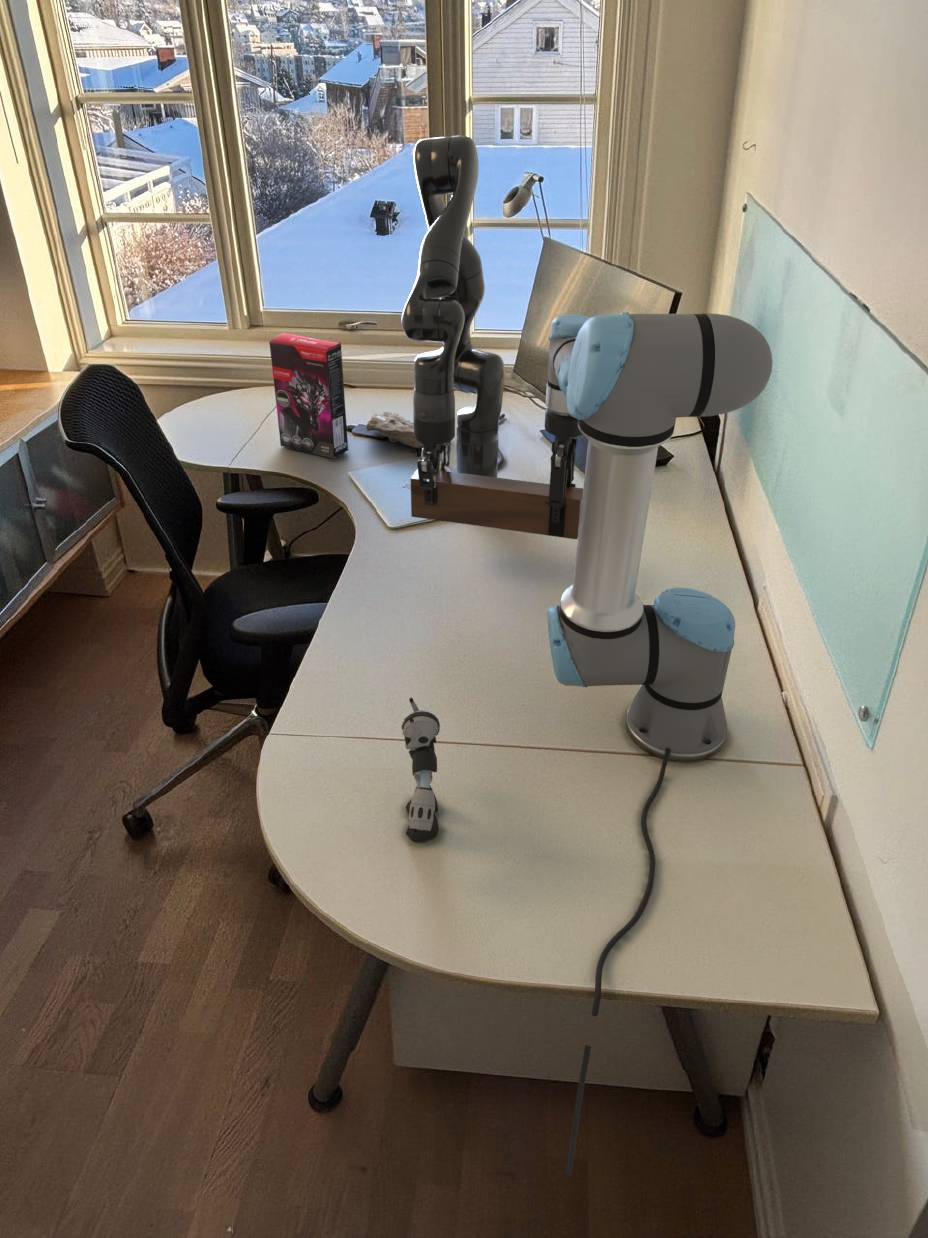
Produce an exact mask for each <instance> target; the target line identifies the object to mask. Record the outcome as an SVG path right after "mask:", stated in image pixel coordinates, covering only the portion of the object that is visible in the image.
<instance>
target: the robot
mask: <svg viewBox="0 0 928 1238" xmlns="http://www.w3.org/2000/svg"><path fill="white" fill-rule="evenodd" d="M408 700H409V703H410V705H411V708H412V711H413V712H411V713H409V714H408V715H407V716H406V717H405V718H403V721H402V723H401V727H400V728H401V731H402V732H401V733H402V735H403V737H404V743H405V744H404V745H405V746H404V747H405V749H406V750H408V754H409V756H410V758H411V761H412V762H411V763H412V764H411V771H412V776H413V778H414V779H415V782H416V787H415V789H414V791H413V792H414V793H413V795H412V797H411V799H410V800H409V801H408V802H407V803H406V805H405V809H406V811H407V814H408V827H407V829H406V831H405V835H406V836H407V837H408V839H410V840H411V841H412V842H416V843H425V842H428V841H430V840H432V839H435V838H437V835H438V832H439V830H440V828H439V820H438V817H437V815H436V813H438V811H439V808H438V799H437V797H436V794H435V792H434V789H433V788H432V785H431V783H432V782H433V773H437V772H438V757H437V754H436V752H435V744H437V737H436V736H438V735H439V733H440V730H441V729H440V728H441V724H440V721H439V718H438V717H437V716H436V715H435V714H433V713H432V712H430V711H428V710H424V709H423V710H420V709H419V707H418V705H417V704H416V702H415V700H414V698H413V697H409V699H408Z"/></svg>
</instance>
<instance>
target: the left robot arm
mask: <svg viewBox="0 0 928 1238" xmlns="http://www.w3.org/2000/svg"><path fill="white" fill-rule="evenodd" d="M413 165H414V173H415V179H416V184H417V189H418V192H419V196H420V200H421V204H422V209H423V213H424V215H425V221H426V226H427V230H428V231H426V233H425V235H424V238H423V240H422V242H421V245H420V251H419V259H418V267H417V269H418V270H417V275H416V279H415V282H414V284H413V287H412V289H411V292H410V294H409V296H408V298H407V301H406V302H405V304H404V308H403V310H402V314H401V328H402V331H403V333H404V335H405V337H406V338H407V339H409V340H410V341H412V342H424V343H425V342H426V343H442V346H441V347H440V348H439V349H437V350H433V351H428V352H427V351H426V352H423V353H420V354H418V355H417V356H416V357H415V358H414V360H413V397H412V399H413V400H412V407H413V408H412V409H413V411H412V412H413V414H412V415H413V423H414V437H415V439H416V440H418V441H420V442H421V443H422V444H423V445H424V448H421V455H420V458H421V459H418V460H417V462H416V464H417V465H416V466H417V469H418V476H419V485H420V487H421V488H424V499H425V504H426V505H432V506H435V505H436V503H437V478H438V475H440V473H441V471H448V467H450V464H451V463H450V461H451V459H450V458H451V444H452V443H451V442H452V441H453V440H454V438H455V437H456V473H464V474H472V475H480V476H488V477H496V478H498V472H499V471H498V469H499V468H500V467H501V466H502V465H503V463H504V455H503V454H502V452H501V451H500V449H499V439H500V438H499V434H500V432H499V431H500V421H502V420H503V419H504V418H505V417H506V415H505V413H502V410H503V399H504V398H503V397H504V387H505V386H504V385H505V375H506V374H505V373H506V371H505V363H504V360H503V358H502V356H500V355H499V354H497V353H493V352H489V351H485V350H481V349H477V348H475V347H474V346H473V343H472V337H471V335H472V334H471V325H472V322H473V320H474V319H475V316H476V314H477V312H478V311H479V308H480V307H481V305H482V302H483V299H484V297H485V288H486V287H485V280H484V279H485V278H484V271H483V264H482V263H483V262H482V259H481V256H480V253H479V252H478V250H477V249H476V247H475V246H474V244H472V241H470V239H469V238H468V237H467V236H466V235H465V232H466V229H467V224H468V221H469V218H470V213H471V209H472V205H473V201H474V199H475V193H476V190H477V186H478V179H479V155H478V150H477V146H476V143H475V142H474V140H473V138H471V136H468V135H452V136H439V137H430V138H423V139H419V140H418V141H417V142H416V144H415V146H414V150H413ZM443 195H451V198H450V200H449V201H448V203H447V205H446V204H445V201H444V198H443ZM455 390H456V391H458V392H461V393H464V394H468V395H473V396H476V401H475V404H470V405H466V406H464V407H462V408H460V409H459V410H458V411H457V413H456V397H455ZM434 470H436V471H434ZM433 476H434V477H433ZM427 479H429V481H427Z"/></svg>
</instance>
